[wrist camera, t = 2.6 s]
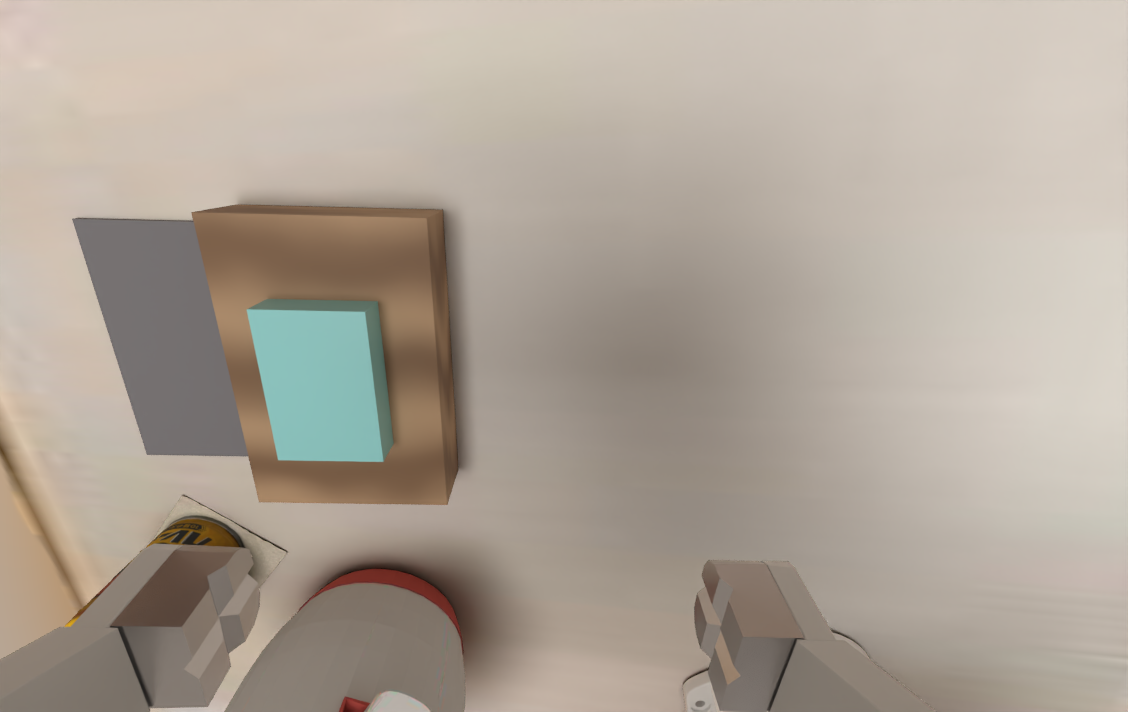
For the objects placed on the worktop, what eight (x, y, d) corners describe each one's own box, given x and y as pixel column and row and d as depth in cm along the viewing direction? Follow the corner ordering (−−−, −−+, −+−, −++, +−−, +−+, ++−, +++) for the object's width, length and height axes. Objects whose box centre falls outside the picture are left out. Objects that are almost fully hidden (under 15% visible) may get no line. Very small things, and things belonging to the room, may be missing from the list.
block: (393, 443, 32) (383, 461, 30) (294, 441, 32) (278, 460, 30) (377, 301, 28) (365, 311, 27) (267, 298, 28) (246, 309, 26)
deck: (458, 469, 37) (447, 504, 33) (289, 466, 37) (259, 502, 33) (442, 209, 30) (426, 218, 27) (236, 204, 30) (191, 212, 27)
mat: (279, 454, 37) (277, 456, 36) (150, 452, 36) (147, 454, 36) (231, 222, 31) (228, 222, 30) (76, 218, 30) (72, 218, 30)
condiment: (183, 493, 38) (26, 637, 27) (288, 550, 40) (183, 706, 29) (143, 554, 40) (-18, 712, 29) (245, 606, 42) (131, 772, 31)
